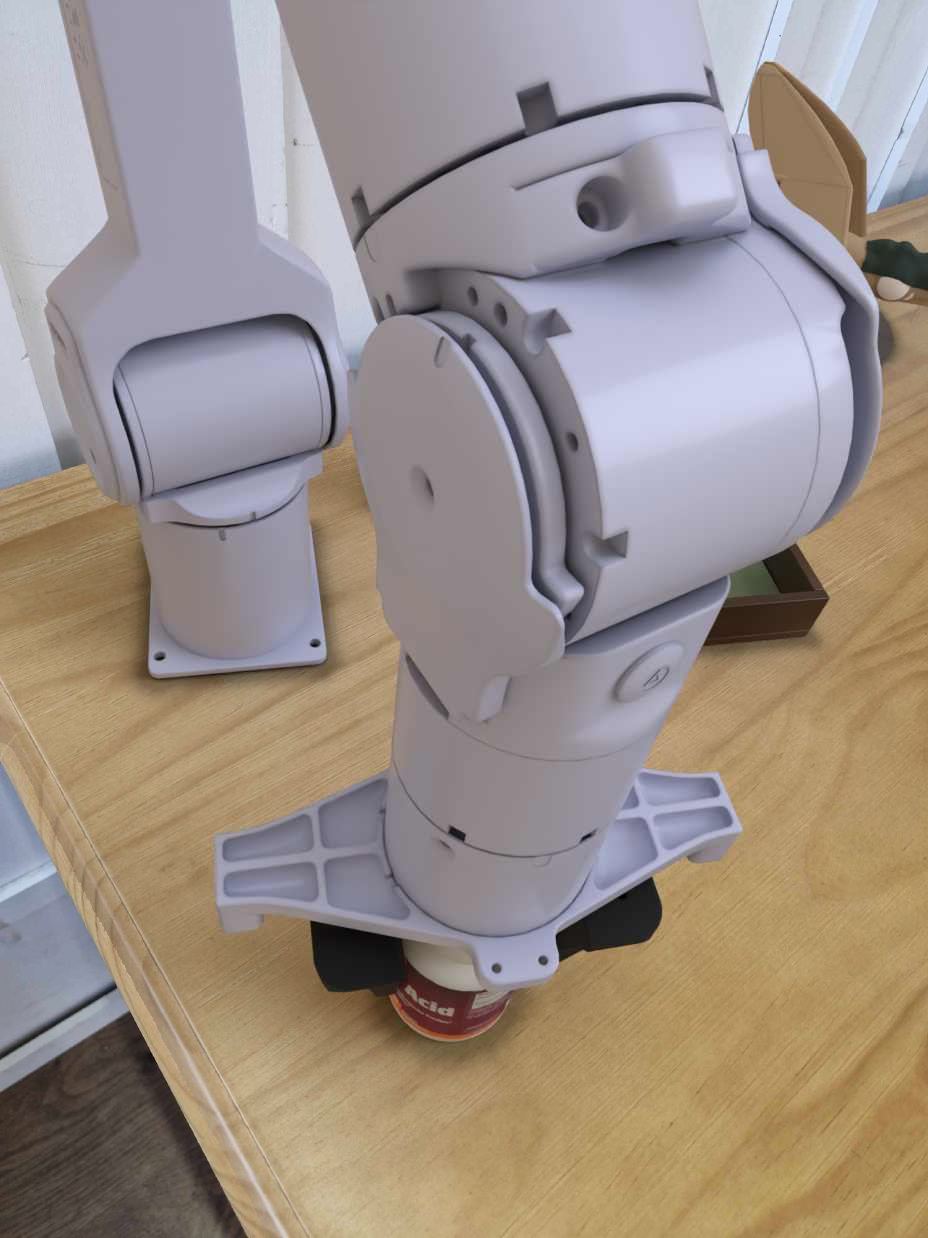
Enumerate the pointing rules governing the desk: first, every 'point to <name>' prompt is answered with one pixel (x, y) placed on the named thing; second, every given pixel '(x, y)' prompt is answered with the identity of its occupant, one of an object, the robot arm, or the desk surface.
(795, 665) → the desk surface
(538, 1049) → the desk surface
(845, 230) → the toy
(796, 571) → the dark brown square box
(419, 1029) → the pill bottle
